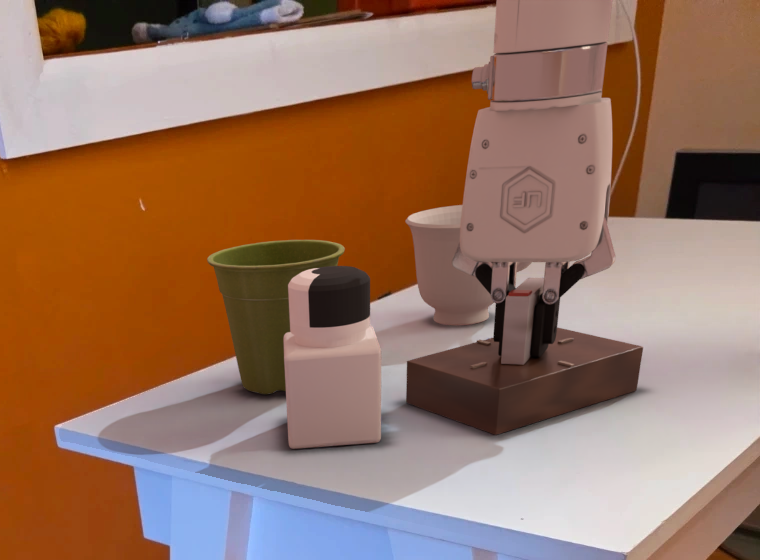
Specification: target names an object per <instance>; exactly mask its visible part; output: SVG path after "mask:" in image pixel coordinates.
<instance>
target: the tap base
mask: <svg viewBox="0 0 760 560" xmlns="http://www.w3.org/2000/svg"><path fill="white" fill-rule="evenodd" d="M498 350H499V342H494V339H493V337H490V338H487V339H483V340H482V339H477V340H476V341H475V342H472V343H468V344H464V345H461V346H457V347H454V348H450V349H446V350H442V351H438V352H435V353H431V354H428V355H424V356H420V357H417V358H412V359H408V360H407V361H406V387H405V390H406V391H405V403H406V404H408V405H411V406H414V407H416V408H420V409H422V410H425V411H428V412H430V413H433V414H436V415H440V416H441V417H443V418H444V417H445V418H446V419H447V418H448V419H449V420H453V421H456V422H459V423H462V424H464V425H466V426H470V427H473V428H475V429H477V430H481V431H483V432H487V433H489V434H492V435H495V436H497V435H500V434H504V433H506V432H510V431H513V430H516V429H519V428H523V427H525V426H528V425H532V424H535V423H538V422H542V421H544V420H545V421H546V420H547V419H548V420H549V419H551V418H553V417H557V416H560V415H564V414H566V413H570V412H573V411H576V410H580V409H582V408H587V407H588V406H592V405H594V404H598V403H601V402H604V401H608V400H611V399H614V398H616V397H620V396H623V395H627V394H630V393H633V392H636V391H637V389H638V385H639V384H638V383H639V377H640V371H641V365H642V359H643V358H642V357H643V353H644V352H643V351H644V346H642V345H637V344H634V343H629V342H625V341H620V340H615V339H611V338H607V337H602V336H598V335H593V334H588V333H584V332H579V331H576V330H571V329H566V328H562V327H558V326H557V333H556V339H555V341H554V343H553V344H549V345H548V348H547V350H546V351H545V352H544V353H543V354H542V355H541V356H540V357H532V356H531V357H530V358H529V359H528V360H527V361H526V363H525V364H524V365H516V364H501V356H499V355H498Z"/></svg>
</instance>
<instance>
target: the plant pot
mask: <svg viewBox="0 0 760 560" xmlns="http://www.w3.org/2000/svg"><path fill="white" fill-rule="evenodd" d="M345 250H346V248H345V247H344V245H342V244H341V243H338V242H334V241H333V242H332V241H329V240H320V239H288V240H287V239H286V240H272V241H261V242H256V243H255V242H254V243H248V244H242V245H238V246H232V247H229V248H224V249H221V250H219V251H218V250H217V251H216V252H213V253H212V254H210V255H209V256H208V257H207V259H206V261H207V264H208V265H210V266H211V267H212V268H213V270H214V272H215V276H216V281H217V286H218V291H219V293H220V294H221V296H222V299H223V303H224V308H225V313H226V316H227V322H228V326H229V331H230V336H231V341H232V345H233V350H234V354H235V358H236V362H237V363H236V364H237V368H238V373H239V377H240V381H241V385H242V387H243V388H244V389H245V390H247V391H249V392H253V393H258V394H260V395H272V394H274V393H276V392H278V391H283V392H286V384H285V365H284V335H285V334H286V333H287V332H290V315H289V294H288V284H289V282H290V281H291V279H292V278H293V277H295V276H296V275H298V274H300V273H301V272H303V271H306V270H309V269H314V268H319V267H327V266H339V259H340V257H342V256H343V255H344V253H345Z"/></svg>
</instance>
